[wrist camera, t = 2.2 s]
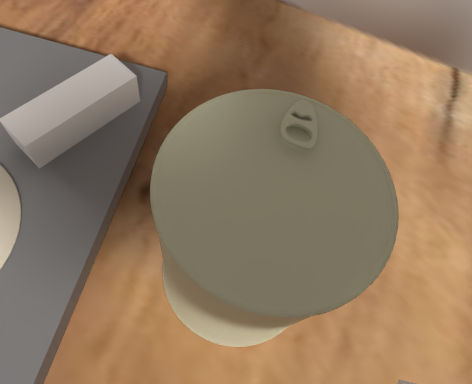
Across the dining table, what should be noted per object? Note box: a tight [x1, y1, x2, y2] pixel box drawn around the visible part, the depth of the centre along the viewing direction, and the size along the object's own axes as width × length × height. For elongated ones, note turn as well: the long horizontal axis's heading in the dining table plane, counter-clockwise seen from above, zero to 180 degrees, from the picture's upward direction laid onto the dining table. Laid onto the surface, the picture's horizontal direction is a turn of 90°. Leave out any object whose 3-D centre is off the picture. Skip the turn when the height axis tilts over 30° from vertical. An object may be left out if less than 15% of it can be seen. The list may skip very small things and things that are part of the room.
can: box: [150, 89, 398, 347], centre depth 19 cm, size 9×9×12 cm
